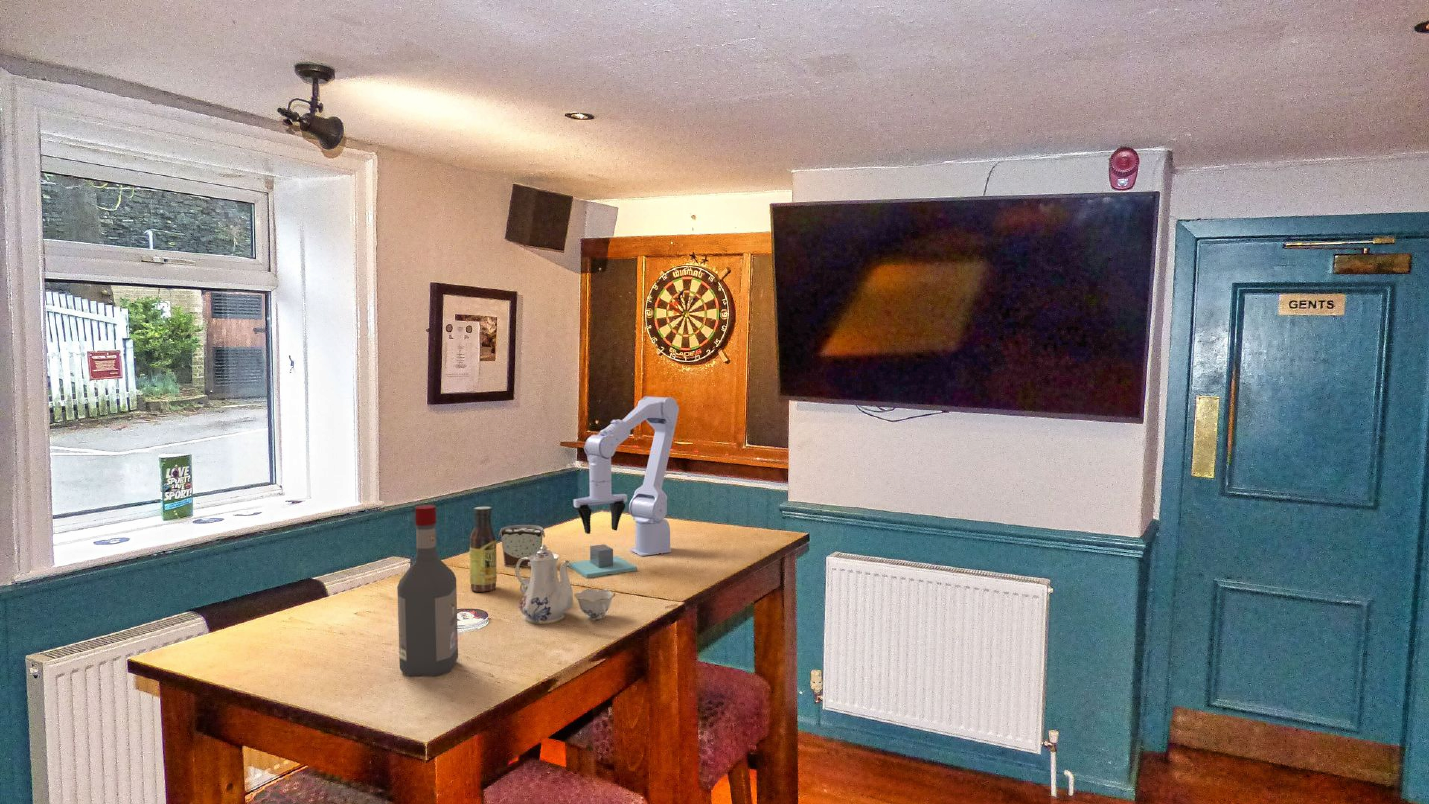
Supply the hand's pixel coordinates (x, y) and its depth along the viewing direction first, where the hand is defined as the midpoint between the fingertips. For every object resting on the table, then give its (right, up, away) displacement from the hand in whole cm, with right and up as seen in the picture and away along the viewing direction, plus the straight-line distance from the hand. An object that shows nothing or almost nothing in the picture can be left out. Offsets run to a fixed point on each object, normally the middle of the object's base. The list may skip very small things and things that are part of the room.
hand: (601, 531), depth 231 cm
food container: (-21, -9, +3) cm, 23 cm away
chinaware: (-5, -13, -39) cm, 41 cm away
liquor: (-23, -15, -70) cm, 75 cm away
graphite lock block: (0, -8, -1) cm, 9 cm away
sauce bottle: (-26, -11, -20) cm, 35 cm away
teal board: (+1, -10, -2) cm, 10 cm away
